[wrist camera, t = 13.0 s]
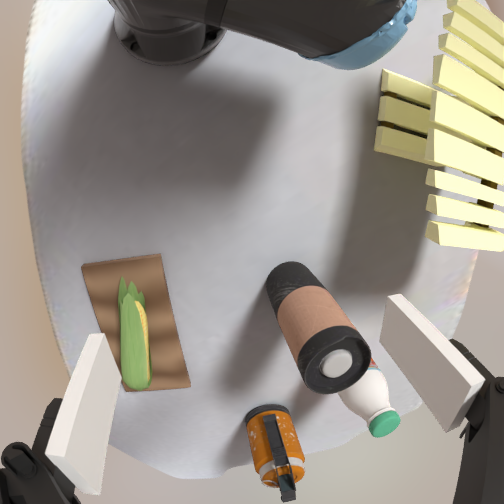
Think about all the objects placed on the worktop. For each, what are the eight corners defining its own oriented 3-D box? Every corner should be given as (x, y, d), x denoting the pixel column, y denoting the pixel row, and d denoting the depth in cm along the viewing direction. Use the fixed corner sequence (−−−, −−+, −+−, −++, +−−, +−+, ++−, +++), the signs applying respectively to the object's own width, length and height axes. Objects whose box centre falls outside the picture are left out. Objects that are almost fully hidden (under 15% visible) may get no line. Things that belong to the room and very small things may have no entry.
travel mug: (277, 312, 50) (317, 405, 31) (255, 275, 47) (290, 364, 28) (320, 289, 49) (379, 371, 31) (301, 250, 46) (362, 324, 28)
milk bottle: (358, 355, 56) (407, 430, 38) (320, 369, 56) (361, 451, 37) (356, 325, 53) (413, 401, 35) (315, 339, 53) (362, 425, 34)
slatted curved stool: (438, 216, 48) (512, 252, 32) (364, 205, 46) (439, 244, 29) (457, 57, 38) (533, 49, 22) (385, 22, 35) (461, -10, 19)
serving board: (83, 264, 42) (81, 267, 41) (160, 253, 43) (159, 256, 42) (127, 387, 51) (126, 391, 50) (190, 382, 52) (190, 387, 51)
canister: (248, 432, 60) (265, 511, 41) (240, 400, 55) (258, 488, 37) (289, 423, 60) (314, 500, 42) (287, 390, 56) (317, 475, 38)
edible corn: (119, 393, 44) (145, 401, 44) (109, 281, 38) (139, 289, 38) (132, 375, 49) (156, 382, 49) (127, 268, 43) (155, 274, 43)
